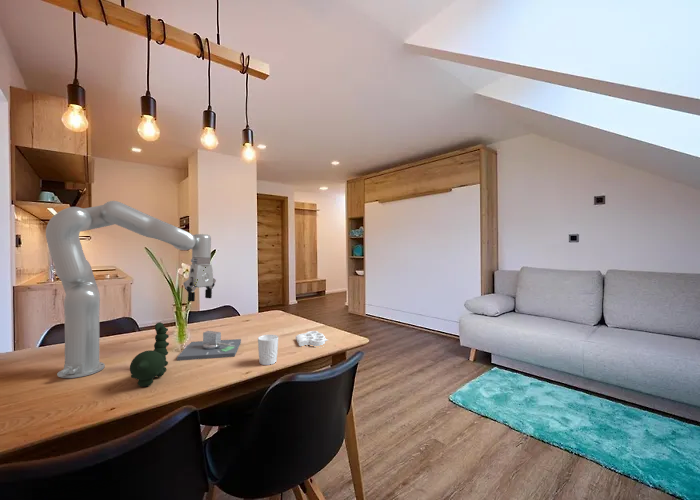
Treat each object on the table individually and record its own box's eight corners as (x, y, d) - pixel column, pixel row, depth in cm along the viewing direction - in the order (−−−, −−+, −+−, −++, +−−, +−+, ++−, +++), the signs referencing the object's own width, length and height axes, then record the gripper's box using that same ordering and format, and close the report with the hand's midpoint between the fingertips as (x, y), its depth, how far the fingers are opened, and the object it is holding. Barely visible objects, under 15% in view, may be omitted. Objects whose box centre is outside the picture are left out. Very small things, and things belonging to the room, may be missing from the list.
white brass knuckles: (294, 338, 154) (322, 336, 159) (300, 350, 137) (331, 347, 142) (294, 332, 154) (322, 330, 159) (300, 342, 137) (331, 340, 142)
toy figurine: (147, 371, 115) (120, 396, 91) (149, 321, 117) (122, 332, 93) (175, 368, 118) (155, 391, 94) (176, 319, 120) (157, 330, 96)
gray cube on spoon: (211, 343, 139) (211, 329, 139) (235, 346, 134) (235, 332, 134) (199, 348, 132) (199, 333, 132) (224, 352, 128) (224, 336, 128)
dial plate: (234, 356, 127) (234, 352, 127) (177, 360, 122) (177, 356, 122) (240, 342, 146) (240, 338, 146) (191, 344, 142) (191, 341, 142)
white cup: (282, 360, 123) (282, 336, 123) (267, 367, 116) (268, 341, 116) (268, 357, 127) (268, 333, 127) (253, 363, 120) (253, 338, 120)
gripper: (192, 262, 127) (190, 303, 126) (221, 261, 143) (220, 297, 143) (178, 261, 129) (177, 301, 129) (209, 261, 145) (208, 296, 145)
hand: (200, 299), depth 136 cm, fingers open, 9 cm apart
